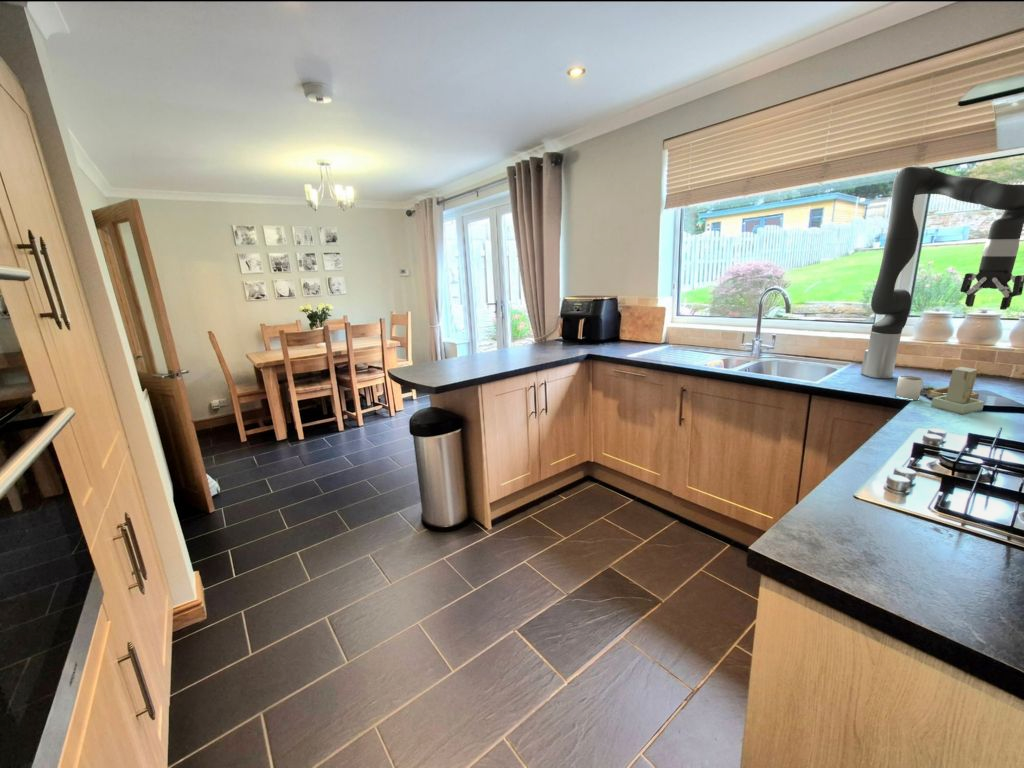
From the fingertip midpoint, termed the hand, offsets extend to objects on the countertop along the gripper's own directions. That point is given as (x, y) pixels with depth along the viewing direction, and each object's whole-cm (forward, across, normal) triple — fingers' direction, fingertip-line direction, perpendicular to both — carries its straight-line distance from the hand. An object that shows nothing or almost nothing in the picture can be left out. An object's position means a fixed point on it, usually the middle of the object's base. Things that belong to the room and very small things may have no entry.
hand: (985, 308), depth 152 cm
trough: (+30, -5, +13) cm, 33 cm away
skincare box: (+30, -5, +13) cm, 33 cm away
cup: (+30, +8, +15) cm, 35 cm away
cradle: (+30, +4, +4) cm, 31 cm away
